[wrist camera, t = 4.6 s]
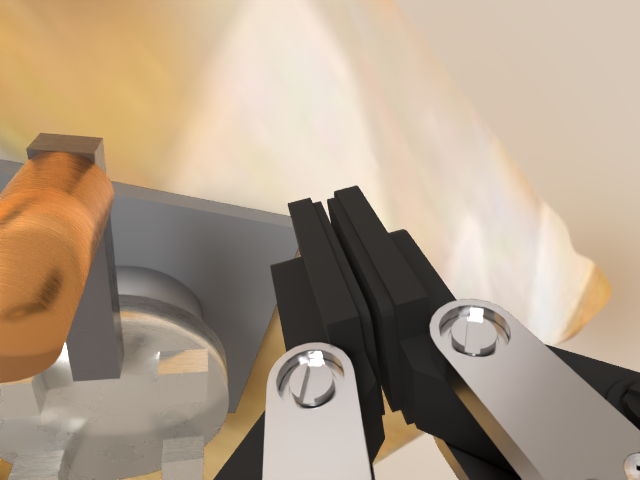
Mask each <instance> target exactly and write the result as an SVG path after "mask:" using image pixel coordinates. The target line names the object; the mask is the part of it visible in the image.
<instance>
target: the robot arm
mask: <svg viewBox="0 0 640 480" xmlns="http://www.w3.org/2000/svg"><path fill="white" fill-rule="evenodd" d="M327 204H328V210H329V215H330V220H331V223H330V221H329V219H328V216H327V214H326V212H325V210H324V208H323V205H322V203H321V201H320V202H316V203H312V200H311V198H307V199H303V200H299V201H295V202H292V203H288V207H289V211H290V215H291V219H292V223H293V227H294V231H295V235H296V239H297V243H298V247H299V251H300V255H301V257H298V258H295V259H291V260H287V261H284V262H280V263H276V264H273V265H270V268H271V274H272V279H273V284H274V290H275V295H276V300H277V305H278V311H279V316H280V321H281V326H282V332H283V337H284V342H285V347H286V353H284V354H283V355H282V356H281V357H280V358H279V359H278V360H277V361H276V362H275V364H274V366H273V367H272V369H271V371H270V372H269V376H268V381H267V389H266V410H265V411H264V413H263V414H262V415H261V417H260V418H259V419H258V421H257V422H256V423H255V425H254V426H253V427H252V429H251V430H250V431H249V433H248V434H247V435H246V437H245V438H244V439H243V441H242V442H241V443H240V445H239V446H238V447H237V449H236V450H235V451H234V453H233V454H232V455H231V457H230V458H229V459H228V461H227V462H226V463H225V465H224V466H223V467H222V469H221V470H220V471H219V473H218V474H217V475H216V477H215V478H214V479H213V480H375V475H374V468H373V461H374V459H375V457H376V455H377V453H378V451H379V449H380V447H381V445H382V443H383V441H384V439H385V434H384V428H383V421H382V415H385V410H384V403H383V396H382V389H383V391H384V394H385V396H386V399H387V401H388V404H389V406H390V408H391V410H392V412H395V411H398V410H401V411H402V414H403V416H404V419H405V421H406V423H407V425H409V424H412V423H415V425H416V427H417V429H420V430H422V431H424V432H426V433H428V434H431V435H433V436H434V439H435V442H436V444H437V446H438V448H439V450H440V451H441V453H442V454H443V456H444V457H445V459H446V461H447V462H448V464H449V465H450V467H451V468H452V470H453V471H454V473H455V475H456V476H457V478H458V479H459V480H640V373H639V372H635V371H632V370H629V369H626V368H622V367H619V366H615V365H612V364H609V363H606V362H602V361H599V360H596V359H592V358H589V357H585V356H582V355H579V354H576V353H572V352H569V351H566V350H562V349H558V348H555V347H552V346H549V345H545V344H543V343H542V342H541V341H540V340H539V339H538V338H537V337H536V336H534V335H533V334H532V333H531V332H530V331H529V330H528V329H527V328H526V327H524V326H523V325H522V324H521V323H520V322H519V321H518V320H517V319H516V318H514V317H513V316H512V315H511V314H510V313H509V312H507V311H506V310H504V309H503V308H501V307H500V306H498V305H495V304H493V303H490V302H488V301H483V300H477V299H460V300H456V299H455V297H454V296H453V294H452V293H451V292H450V290H449V289H448V288H447V286H446V285H445V283H444V282H443V281H442V279H441V278H440V276H439V275H438V274H437V272H436V271H435V269H434V268H433V267H432V265H431V264H430V262H429V261H428V260H427V258H426V257H425V255H424V254H423V253H422V251H421V250H420V248H419V247H418V246H417V244H416V243H415V241H414V240H413V239H412V237H411V236H410V234H409V233H408V232H407V231H406V230H404V229H402V230H398V231H394V232H391V233H388V232H387V231H386V229H385V227H384V226H383V224H382V223H381V221H380V220H379V218H378V217H377V215H376V213H375V212H374V210H373V209H372V207H371V206H370V204H369V203H368V201H367V199H366V198H365V196H364V195H363V193H362V192H361V190H360V189H359V187H358V186H353V187H349V188H345V189H341V190H338V191H334V198H331V199H327ZM381 386H382V389H381Z"/></svg>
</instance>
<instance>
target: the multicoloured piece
mask: <svg viewBox="0 0 640 480" xmlns="http://www.w3.org/2000/svg"><path fill="white" fill-rule="evenodd" d="M27 154H28V159H29V160H28V161H27V162H26V163H25V164H24V165H23V166H22V167H21V168H20V170H19V171H18V172H17V173H16V174H15V176H14V177H13V178H12V179H11V180H10V182H9V183H8V184H7V185H6V186H5V188H4V189H3V190H2V191H1V192H0V458H2V459H3V460H5V461H6V462H8V463H10V464H12V465H13V466H12V469H11V472H10V474H9V477H8V480H117V479H125V478H131V477H136V476H140V475H145V474H149V473H152V472H155V471H159V470H162V480H203V464H204V446H205V445H207V444H208V443H209V442H210V441H211V440H212V439H213V438H214V437H215V435H216V434H217V433H218V432H219V430H220V429H221V427H222V425H223V424H224V421H225V419H226V416H227V413H228V408H229V396H228V380H227V364H226V356H225V351H224V348H223V346H222V344H221V341H220V340H219V338H218V337H217V335H216V334H215V332H214V331H213V330H212V329H211V328H210V327H209V326H208V325H207V324H206V323H204V322H203V321H202V320H201V319H199V318H198V317H197V316H195V315H193V314H192V313H190V312H188V311H187V310H184V309H182V308H180V307H178V306H176V305H173V304H170V303H167V302H164V301H161V300H157V299H153V298H148V297H143V296H135V295H124V294H118V285H117V275H116V265H115V256H114V246H113V236H112V226H111V216H110V212H111V209H112V206H113V203H114V190H113V186H112V184H111V182H110V180H109V178H108V177H107V175H106V167H105V157H104V147H103V138H96V137H84V136H71V135H58V134H46V133H40V134H39V135H38V136H37V137H36V139H35V140H34V141H33V142H32V143H31V144H30V145H29V147H28V148H27Z"/></svg>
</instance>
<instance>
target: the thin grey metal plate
mask: <svg viewBox="0 0 640 480" xmlns="http://www.w3.org/2000/svg"><path fill="white" fill-rule="evenodd" d="M23 165H24V164H21V163H16V162H11V161H5V160H0V192H1V191H2V190H3V189H4V188H5V186H6V185H7V184H8V183H9V182H10V180H11V179H12V178H13V177H14V176H15V174H16V173H17V172H18V171H19V170H20V168H21V167H22V166H23ZM110 182H111V184H112V186H113V190H114V203H113V206H112V209H111V212H110V216H111V226H112V236H113V246H114V256H115V265H116V275H117V285H118V294H124V295H135V296H143V297H148V298H153V299H157V300H161V301H164V302H167V303H170V304H173V305H176V306H178V307H180V308H182V309H184V310H187V311H188V312H190V313H192V314H193V315H195V316H197V317H198V318H199V319H201V320H202V321H203V322H204V323H206V324H207V325H208V326H209V327H210V328H211V329H212V330H213V331H214V332H215V334H216V335H217V337H218V338H219V340H220V341H221V344H222V346H223V348H224V351H225V356H226V364H227V380H228V396H229V408H228V413H235V411H236V409H237V406H238V404H239V401H240V398H241V396H242V393H243V390H244V388H245V385H246V383H247V380H248V377H249V375H250V372H251V370H252V367H253V364H254V362H255V359H256V357H257V354H258V351H259V349H260V346H261V343H262V341H263V338H264V336H265V333H266V330H267V328H268V325H269V323H270V320H271V317H272V315H273V312H274V310H275V307H276V304H277V300H276V295H275V290H274V284H273V279H272V274H271V268H270V265H273V264H276V263H280V262H284V261H287V260H291V259H294V257H295V255H296V252H297V250H298V243H297V239H296V235H295V231H294V227H293V223H292V219H291V216H286V215H280V214H275V213H270V212H265V211H260V210H255V209H250V208H245V207H240V206H235V205H230V204H224V203H219V202H214V201H209V200H204V199H199V198H194V197H189V196H184V195H179V194H173V193H168V192H163V191H158V190H153V189H148V188H143V187H138V186H133V185H128V184H123V183H117V182H112V181H110Z"/></svg>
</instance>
